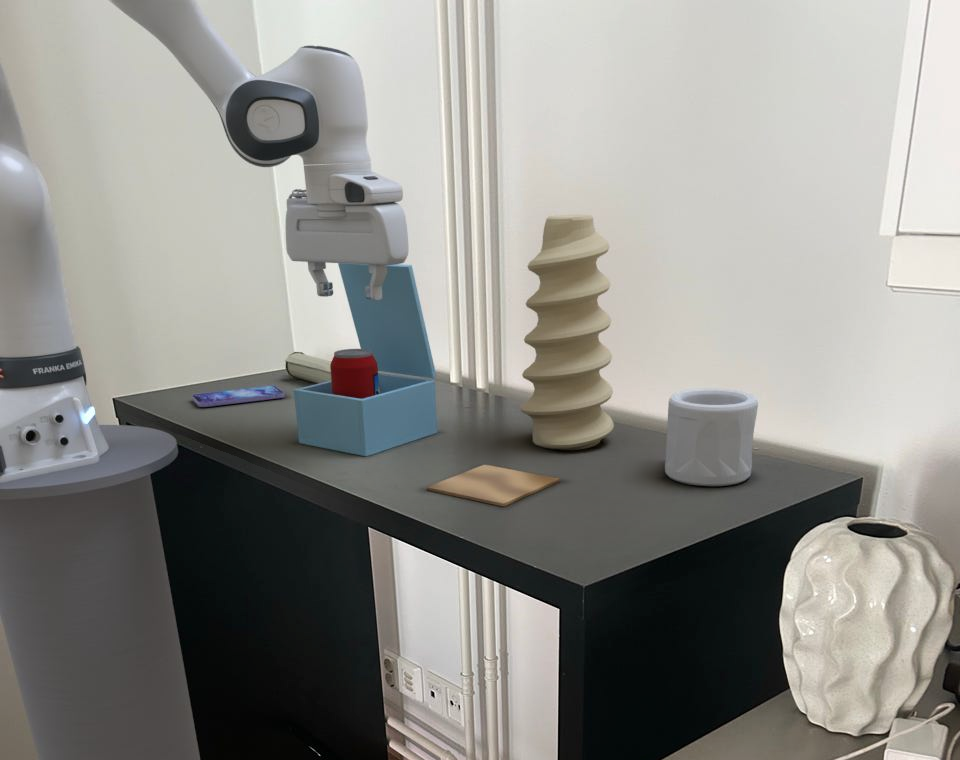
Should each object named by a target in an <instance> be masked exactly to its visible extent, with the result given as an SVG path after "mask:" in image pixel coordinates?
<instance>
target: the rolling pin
mask: <svg viewBox="0 0 960 760" xmlns="http://www.w3.org/2000/svg"><path fill="white" fill-rule="evenodd" d="M284 362H285V370H286V372H287V374H288V376H290V377H291V378H293V379H300V380H301V379H302V380H305V381H308V382H311V383H315V384H319V383H323V382H327V381H331V369H330V364H331V362H332V360H328V359H324V358H320V357H317V356H313V355H309V354H306V353H303V352H302V351H293V352H292V353H290V354H289V355H288V356H287V358H286V359H285V360H284Z"/></svg>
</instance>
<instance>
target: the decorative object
mask: <svg viewBox="0 0 960 760" xmlns="http://www.w3.org/2000/svg"><path fill="white" fill-rule="evenodd" d="M543 226H544V227H543V233H542V242H541V243H542V245H541V249H540V252H539V253H537V255H536V256H535V257H534V258H532V259H531V260H530V261H529V262H528V264H527V266H526V267H527V269H528V271H530V272H532V273H534V274H535V275H536V276H537V277H538V279H539V287H538V289H537V291H535V292H534V293H533V294H532V295H531V296H530V297H529V298H528V299H527V300H526V302H525V306H526V308H527V309H529V310H532V311H533V312H535V313H536V316H537V323H536V326H535V327H534V328H533V329H532V330H531V331H529V332H528V333H527V334H526V335H525V336H524V339H523V341H524V343H525V344H526V345H529V346H530V347H532V348H533V349H534V351H535V357H534V358H535V359H534V361H533V362H532V363H531V364H530V365H529V366H528V367H527V368H525V369H524V370H523V372H522V374H521V376H522V378H523V379H525V380H527V381H528V382H530V383H532V385H533V388H534V389H533V394H532V396H530V398H529V399H528V400H526V401H525V402H524V403H522V405H521V406H520V411H521V413H522V414H525V415H527V416H529V417H530V418H531V422H532V443H533V444H535V446H539V447H540V448H544V449H548V450H549V449H550V450H559V451H561V450H562V451H576V450H584V449H588V448H592V447H595V446H597V445H598V444H600V442H601V440H603V439H604V438H606V437H608V436H609V435H610V434H611V433H612V431H613V429H614V427H615V424H614V421H613V419H612V418H611V416H610V415H609V414H608V413H606V412H605V411H604V410H602V407H601V405H604V404H605V403H607V402H608V401H609V400H610V399H611V398H612V396H613V393H614V390H613V387H612V385H611V384H610V382H608V381H607V380H606V379H605V378H603V377H602V376H601V374H600V372H601V371H600V370H601V369H604V368H606V367H607V366H609V365H610V364H611V361H612V360H613V355H612V352H611V350H610V349H609V348H608V347H607V346H605V344H603V343H602V342H601V341H600V338H599V335H600V334H601V333H603V332H604V331H606V330H608V329H609V328H610V326H611V323H612V318H611V316H610V315H609V314H608V313H607V312H606V311H605V310H604V309H602V307H601V306H599V302H598V298H599V297H600V296H601V295H603V294H606V292H608V291H609V289H610V287H611V282H610V279H609V278H608V277H607V275H605V274H603V273H602V272H601V271H600V270H599V268H598V265H597V261H598V259H599V258H600V257H602V256H604V255H605V254H607V253H608V251H609V249H610V247H611V246H610V244H609V242H608V240H607V239H606V238H604V237H603V235H601V234H600V233H598V232H597V231H596V227H595V223H594V217H593V216H592V215H591V214H556V215H549V216H547V217H546V219H545V222H544V225H543Z"/></svg>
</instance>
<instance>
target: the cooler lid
mask: <svg viewBox="0 0 960 760" xmlns="http://www.w3.org/2000/svg"><path fill="white" fill-rule="evenodd" d="M337 266H338V268H339V273H340V277H341V280H342V283H343V287H344V290H345V295H346V299H347V302H348V306H349V310H350V313H351V317H352V322H353V325H354V329H355V332H356V336H357V339H358V343H359V347H360V349H368V350H371V351H372V355H373V356H374V358H375V360H376V361H377V366H378V372H384V373H389V374H390V373H392V374H399V375H404V376H405V375H406V376H412V377H419V378H420V377H421V378H428V379H435V378H437V372H436V367H435V363H434V359H433V355H432V350H431V345H430V341H429V335H428V332H427V328H426V323H425V319H424V313H423V309H422V305H421V301H420V296H419V292H418V287H417V282H416V278H415V274H414V269H413V264H404V263H401V264H396V265H387V274H386V277H385V279H384V282H383V284H382V299H380V300H367V299H366V292H365V286H369V285H370V281H371V277H372V273H369V265H368V264H347V263H337Z"/></svg>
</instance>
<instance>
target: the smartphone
mask: <svg viewBox="0 0 960 760" xmlns="http://www.w3.org/2000/svg"><path fill="white" fill-rule="evenodd" d="M284 397H285V392H284V391H283V390H282V389H280V388H279V387H277V386H276V385H274V384H273V385H270V384H269V385H261V386H253V387H244V388H233V389H227V390H218V391H210V392H200V393H194V394H192V395H191V400H192V401H193V402H194V403H195V405H197V406H198V407H200V408H208V407H216V406H224V405H232V404H233V405H234V404H240V403H241V404H242V403H250V402H251V403H252V402H259V401H266V400H274V399H275V400H276V399H282V398H284Z"/></svg>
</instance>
